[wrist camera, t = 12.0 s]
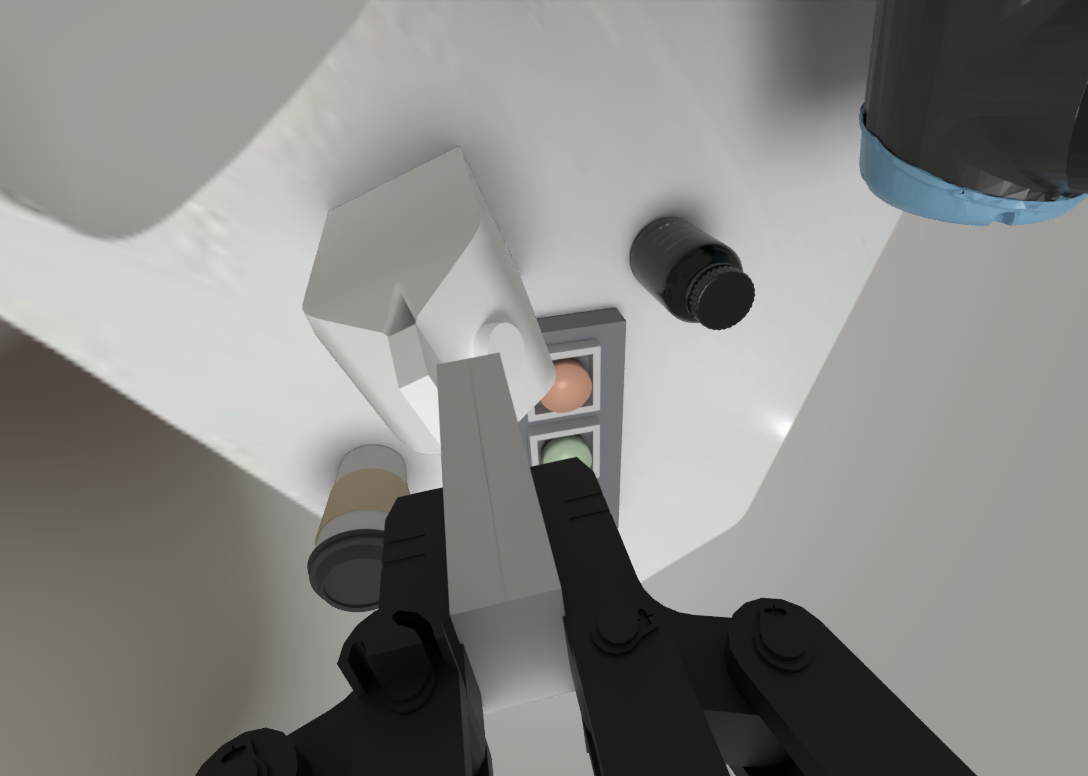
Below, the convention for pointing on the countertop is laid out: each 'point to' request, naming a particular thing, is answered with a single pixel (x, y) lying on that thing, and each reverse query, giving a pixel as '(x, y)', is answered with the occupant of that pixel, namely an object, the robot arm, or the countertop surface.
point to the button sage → (566, 450)
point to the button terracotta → (568, 387)
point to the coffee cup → (356, 528)
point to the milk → (422, 297)
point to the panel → (600, 417)
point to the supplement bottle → (692, 274)
